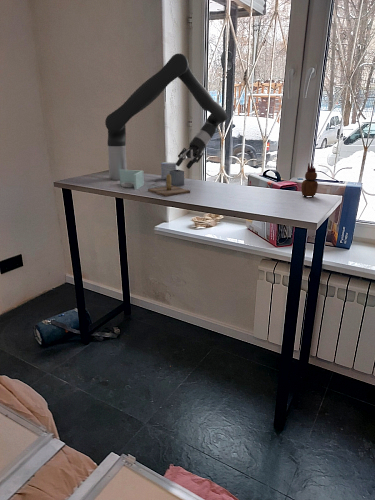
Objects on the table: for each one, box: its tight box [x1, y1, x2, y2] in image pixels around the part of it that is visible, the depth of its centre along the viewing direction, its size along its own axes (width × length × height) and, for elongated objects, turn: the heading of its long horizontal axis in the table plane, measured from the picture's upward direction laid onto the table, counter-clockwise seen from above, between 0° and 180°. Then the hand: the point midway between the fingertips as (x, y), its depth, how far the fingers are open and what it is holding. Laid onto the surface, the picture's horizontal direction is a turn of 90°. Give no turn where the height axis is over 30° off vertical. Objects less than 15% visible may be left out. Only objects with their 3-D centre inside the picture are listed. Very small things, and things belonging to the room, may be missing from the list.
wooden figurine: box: [300, 162, 319, 197], centre depth 163 cm, size 7×6×15 cm
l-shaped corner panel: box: [119, 169, 145, 190], centre depth 180 cm, size 12×12×8 cm
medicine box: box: [160, 161, 178, 180], centre depth 199 cm, size 8×4×9 cm, turn 84°
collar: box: [170, 169, 185, 187], centre depth 185 cm, size 5×5×7 cm
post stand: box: [147, 174, 191, 197], centre depth 169 cm, size 14×14×8 cm
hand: (182, 166), depth 185 cm, fingers open, 8 cm apart
